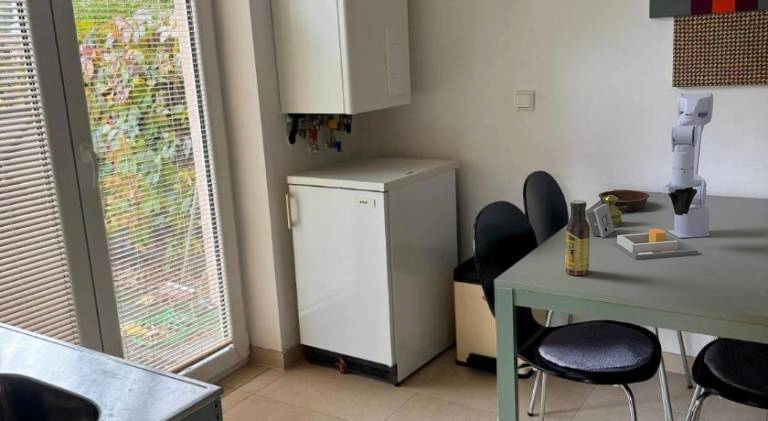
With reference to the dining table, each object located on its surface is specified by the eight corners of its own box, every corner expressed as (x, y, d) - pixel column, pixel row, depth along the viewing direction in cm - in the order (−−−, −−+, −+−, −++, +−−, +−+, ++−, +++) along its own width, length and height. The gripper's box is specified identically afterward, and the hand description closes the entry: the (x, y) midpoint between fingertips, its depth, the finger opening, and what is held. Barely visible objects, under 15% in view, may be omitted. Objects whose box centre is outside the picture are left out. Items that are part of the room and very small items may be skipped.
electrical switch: (603, 238, 222) (601, 209, 220) (587, 238, 225) (585, 209, 224) (615, 231, 229) (612, 203, 228) (599, 231, 232) (597, 203, 231)
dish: (592, 213, 254) (592, 200, 253) (605, 200, 273) (605, 187, 272) (643, 216, 246) (644, 202, 245) (653, 202, 264) (653, 189, 263)
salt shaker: (597, 227, 235) (597, 197, 233) (599, 221, 242) (600, 192, 240) (621, 228, 233) (621, 198, 230) (622, 222, 239) (623, 193, 237)
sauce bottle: (561, 270, 195) (561, 199, 190) (584, 268, 195) (584, 197, 191) (570, 277, 188) (570, 204, 184) (593, 275, 189) (593, 202, 184)
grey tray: (670, 239, 217) (671, 228, 216) (697, 254, 201) (697, 242, 200) (612, 244, 215) (612, 233, 215) (635, 259, 200) (635, 247, 199)
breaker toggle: (658, 242, 210) (658, 228, 209) (665, 246, 206) (666, 232, 205) (648, 243, 210) (649, 229, 209) (655, 247, 206) (655, 233, 205)
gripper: (687, 162, 210) (685, 207, 213) (654, 169, 203) (653, 216, 206) (708, 165, 204) (706, 211, 207) (675, 172, 197) (673, 220, 200)
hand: (681, 214), depth 206 cm, fingers closed
